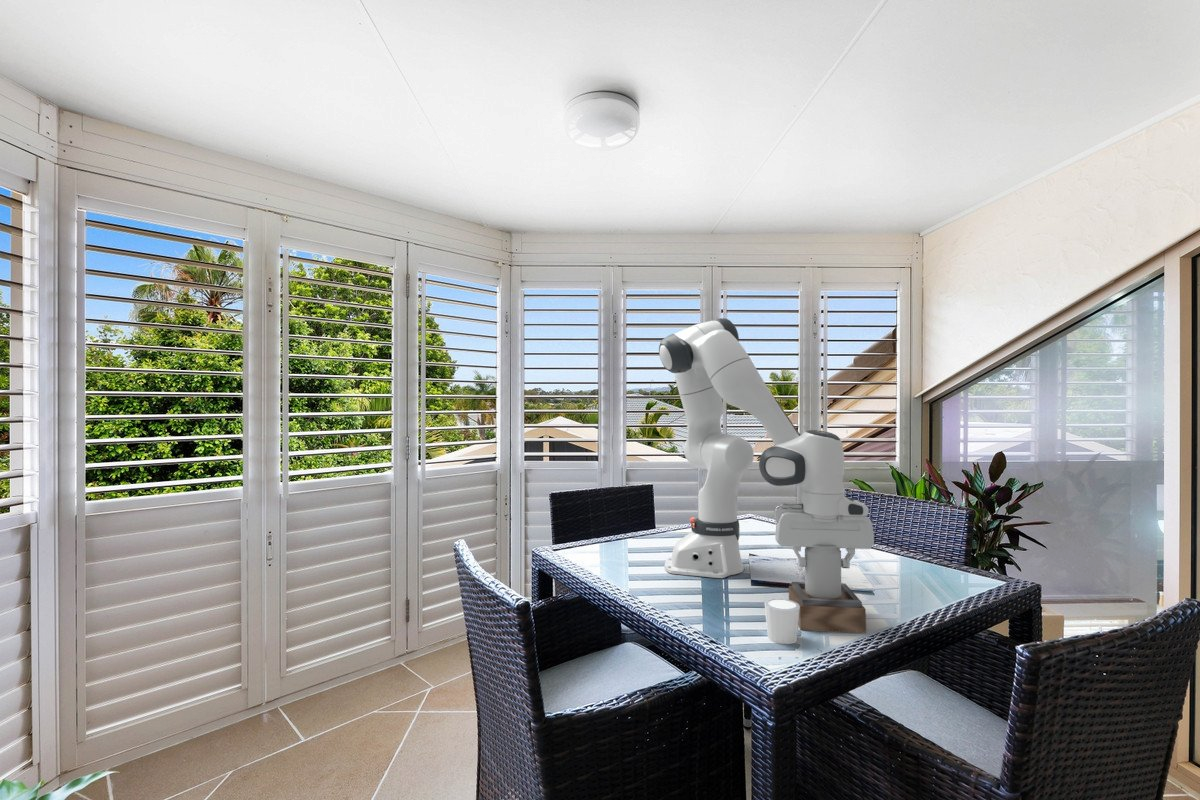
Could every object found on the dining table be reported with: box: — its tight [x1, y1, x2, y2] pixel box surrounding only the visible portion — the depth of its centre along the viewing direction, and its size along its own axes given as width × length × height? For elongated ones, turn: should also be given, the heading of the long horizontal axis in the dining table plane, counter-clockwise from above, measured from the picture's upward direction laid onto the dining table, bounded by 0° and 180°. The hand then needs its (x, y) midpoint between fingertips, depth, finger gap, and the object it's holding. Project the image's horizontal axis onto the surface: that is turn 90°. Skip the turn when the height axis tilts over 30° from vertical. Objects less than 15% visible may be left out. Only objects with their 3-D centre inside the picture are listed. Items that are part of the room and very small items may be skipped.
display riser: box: [788, 581, 867, 634], centre depth 123 cm, size 13×13×6 cm
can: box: [804, 545, 842, 599], centre depth 123 cm, size 8×8×12 cm
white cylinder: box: [764, 597, 800, 645], centre depth 114 cm, size 7×7×7 cm
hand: (823, 566), depth 123 cm, fingers open, 8 cm apart
